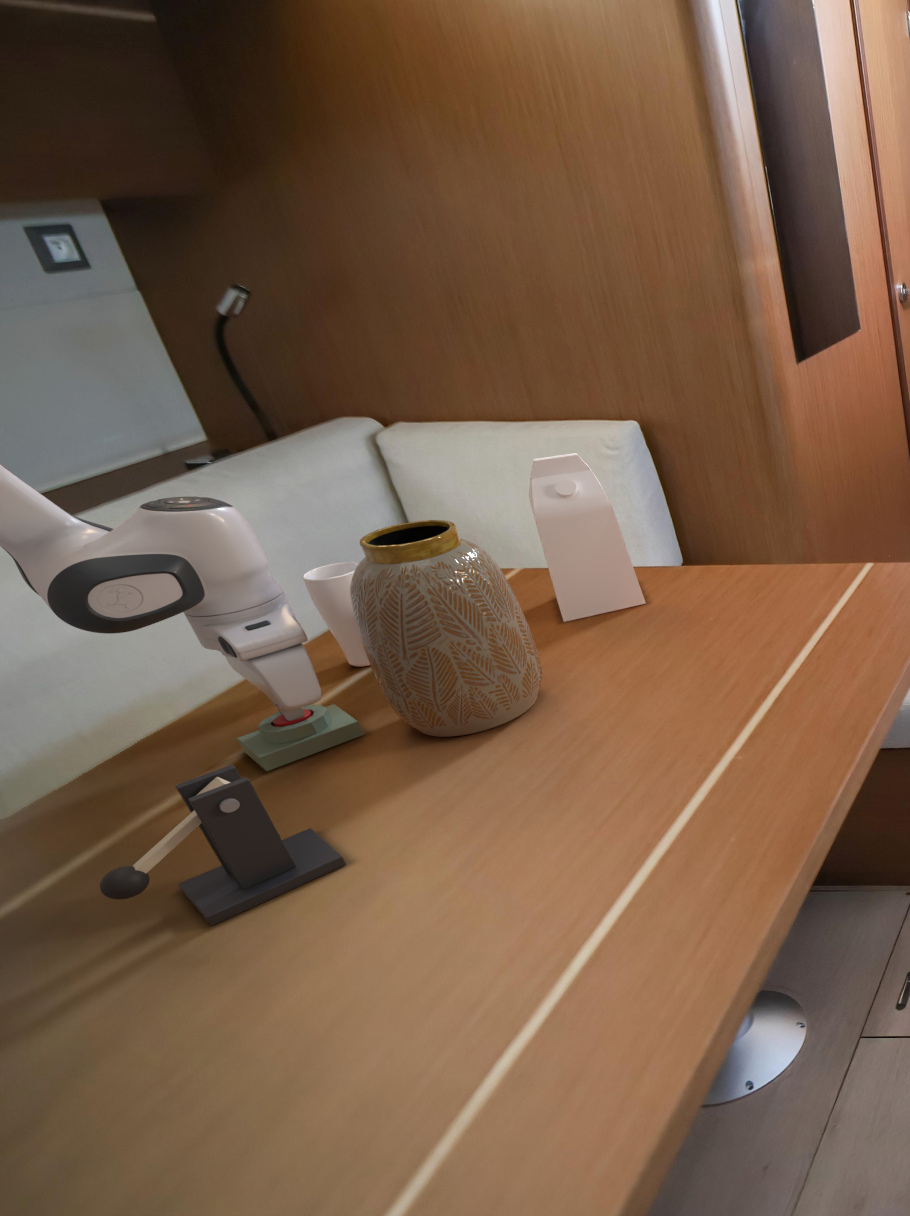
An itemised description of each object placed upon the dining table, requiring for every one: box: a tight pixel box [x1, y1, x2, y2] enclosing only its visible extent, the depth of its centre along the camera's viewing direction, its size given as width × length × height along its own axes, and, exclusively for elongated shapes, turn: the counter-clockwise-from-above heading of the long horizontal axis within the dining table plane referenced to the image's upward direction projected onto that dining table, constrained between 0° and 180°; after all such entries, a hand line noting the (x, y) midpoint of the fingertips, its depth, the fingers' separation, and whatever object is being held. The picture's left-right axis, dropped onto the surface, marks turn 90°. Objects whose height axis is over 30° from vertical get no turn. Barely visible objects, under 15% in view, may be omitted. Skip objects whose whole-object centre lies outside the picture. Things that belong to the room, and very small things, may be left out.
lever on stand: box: [175, 764, 347, 926], centre depth 101 cm, size 11×9×13 cm
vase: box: [350, 519, 543, 738], centre depth 128 cm, size 17×17×27 cm
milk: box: [528, 452, 647, 623], centre depth 160 cm, size 12×12×26 cm
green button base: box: [236, 703, 365, 772], centre depth 125 cm, size 10×8×4 cm
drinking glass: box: [302, 561, 371, 668], centre depth 143 cm, size 7×7×15 cm
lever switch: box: [99, 777, 231, 900], centre depth 96 cm, size 13×3×3 cm, turn 148°
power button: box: [273, 709, 312, 727], centre depth 125 cm, size 4×4×2 cm
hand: (292, 715), depth 124 cm, fingers closed, pressing on power button
